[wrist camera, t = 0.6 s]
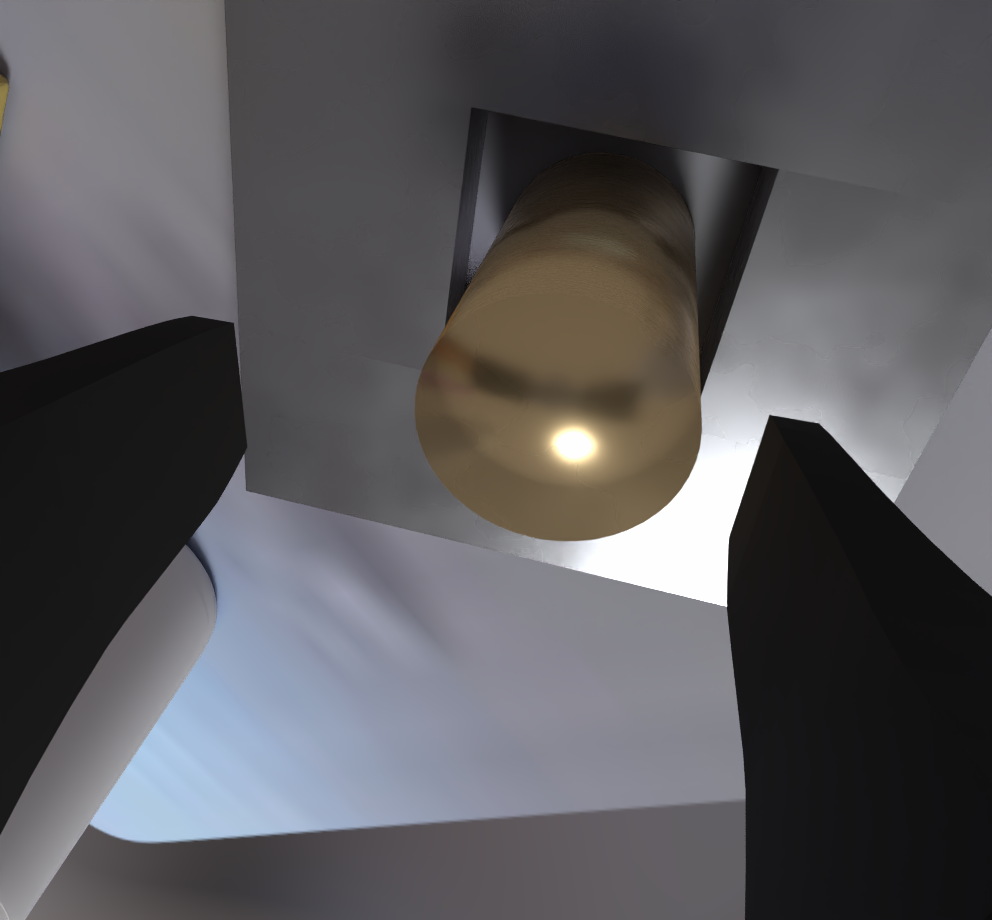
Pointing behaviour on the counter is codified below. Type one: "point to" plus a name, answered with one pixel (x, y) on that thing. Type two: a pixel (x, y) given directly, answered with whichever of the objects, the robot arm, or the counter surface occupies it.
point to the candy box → (3, 97)
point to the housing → (638, 116)
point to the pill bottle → (105, 729)
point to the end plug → (572, 358)
